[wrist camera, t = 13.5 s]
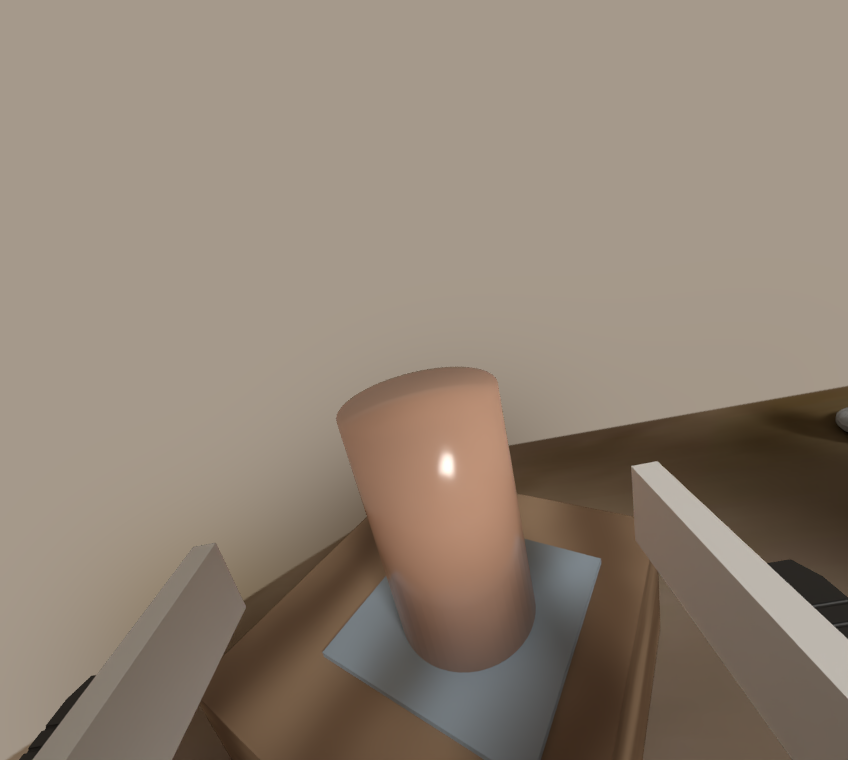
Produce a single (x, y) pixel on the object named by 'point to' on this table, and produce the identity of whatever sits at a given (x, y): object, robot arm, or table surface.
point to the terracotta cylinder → (444, 512)
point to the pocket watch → (842, 419)
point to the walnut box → (444, 690)
